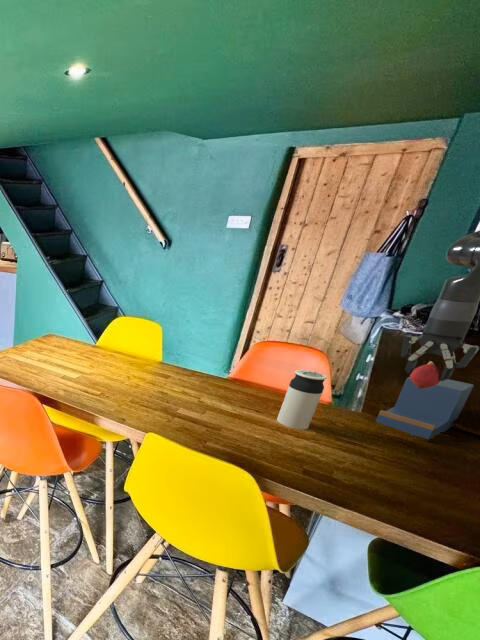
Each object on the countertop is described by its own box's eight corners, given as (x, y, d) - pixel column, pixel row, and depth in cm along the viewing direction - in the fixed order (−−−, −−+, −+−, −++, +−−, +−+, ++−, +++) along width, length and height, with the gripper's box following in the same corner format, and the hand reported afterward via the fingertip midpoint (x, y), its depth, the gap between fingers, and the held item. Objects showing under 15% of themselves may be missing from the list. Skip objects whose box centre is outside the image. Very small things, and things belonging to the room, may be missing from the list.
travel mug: (313, 431, 124) (335, 377, 117) (294, 434, 122) (315, 379, 115) (287, 419, 131) (306, 368, 124) (269, 422, 129) (288, 370, 122)
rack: (402, 411, 137) (419, 372, 132) (453, 425, 127) (474, 384, 122) (373, 425, 127) (390, 384, 122) (426, 442, 117) (447, 398, 112)
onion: (436, 389, 113) (450, 362, 110) (432, 394, 110) (446, 366, 107) (407, 383, 117) (420, 357, 114) (402, 387, 114) (415, 360, 111)
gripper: (497, 320, 101) (468, 382, 108) (418, 311, 113) (396, 367, 119) (488, 324, 98) (458, 387, 104) (407, 314, 110) (385, 371, 116)
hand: (425, 376), depth 112 cm, fingers closed on onion, 6 cm apart
